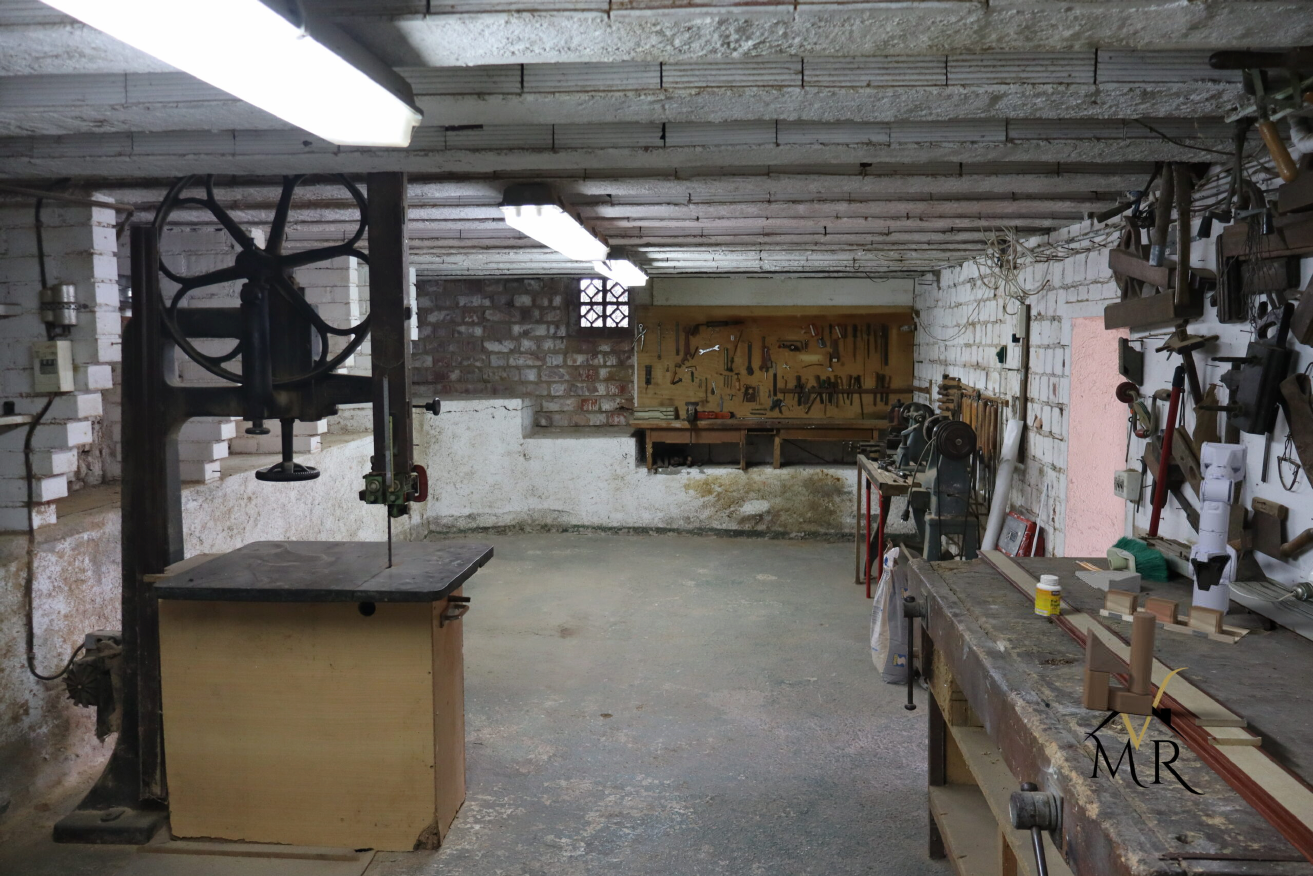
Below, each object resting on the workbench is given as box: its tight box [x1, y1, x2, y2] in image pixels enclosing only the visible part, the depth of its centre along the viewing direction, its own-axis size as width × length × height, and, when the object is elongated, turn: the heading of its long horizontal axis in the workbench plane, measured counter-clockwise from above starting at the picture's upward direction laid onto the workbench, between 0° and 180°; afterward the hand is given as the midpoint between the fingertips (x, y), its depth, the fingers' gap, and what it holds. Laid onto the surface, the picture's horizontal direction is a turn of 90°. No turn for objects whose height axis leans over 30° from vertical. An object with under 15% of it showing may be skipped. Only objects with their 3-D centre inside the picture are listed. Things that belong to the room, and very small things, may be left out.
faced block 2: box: [1187, 605, 1225, 634], centre depth 204 cm, size 4×6×6 cm
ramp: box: [1074, 569, 1142, 593], centre depth 250 cm, size 28×16×5 cm, turn 157°
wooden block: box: [1081, 611, 1157, 716], centre depth 160 cm, size 4×11×18 cm, turn 76°
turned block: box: [1144, 596, 1180, 625], centre depth 210 cm, size 4×6×6 cm
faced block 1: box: [1104, 589, 1139, 616], centre depth 216 cm, size 4×6×6 cm
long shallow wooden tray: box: [1099, 606, 1251, 645], centre depth 212 cm, size 15×28×2 cm, turn 44°
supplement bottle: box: [1034, 574, 1062, 618], centre depth 216 cm, size 6×6×10 cm
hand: (1208, 587), depth 208 cm, fingers open, 7 cm apart
